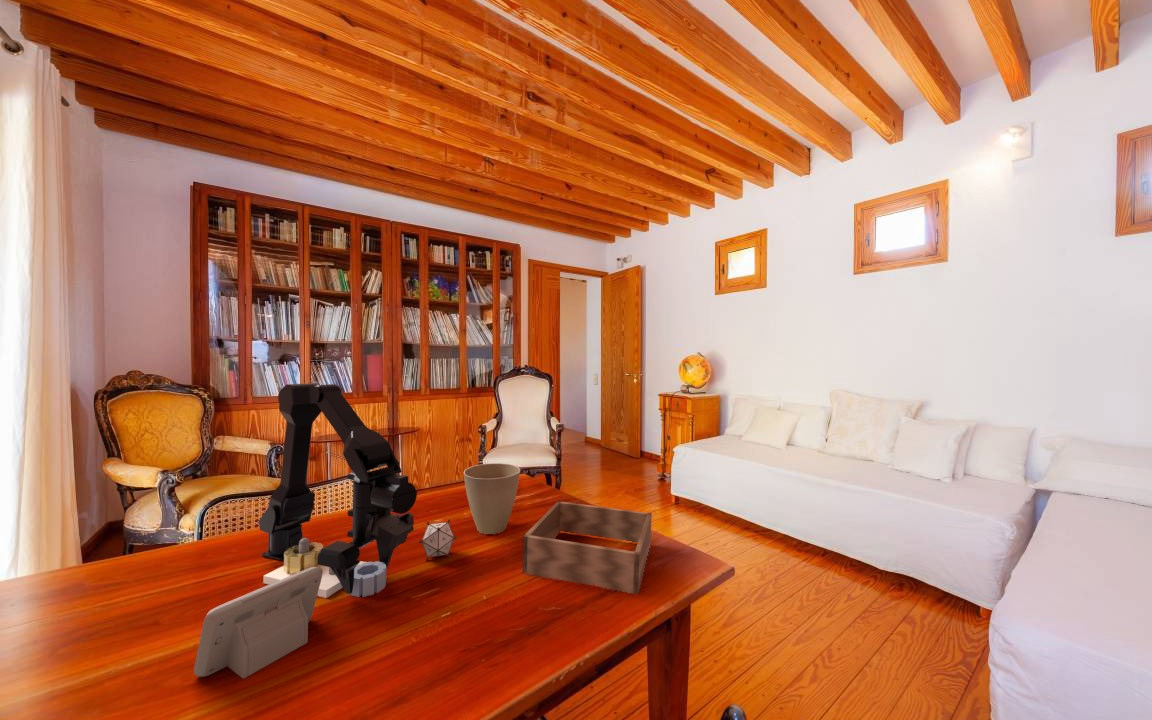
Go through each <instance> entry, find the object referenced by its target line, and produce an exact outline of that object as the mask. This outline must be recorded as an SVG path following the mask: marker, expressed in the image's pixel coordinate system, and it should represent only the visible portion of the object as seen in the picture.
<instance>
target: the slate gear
mask: <svg viewBox="0 0 1152 720" xmlns="http://www.w3.org/2000/svg"><path fill="white" fill-rule="evenodd" d="M366 562H367V561H366ZM386 586H387V570H386V564H384V563H382V562H380V561H377V560H376V561H374V562H373V561H368V562H367V563H362V565H357V566H356V567H355V569H354V584H353V591H352V593H351V594H349V595H350V596H352V597H355V598H361V596H362V598H364V597H365V598H366V597H368V596H373V595H375V593H376V594H378V593H380V592H381V591H382V590H383V589H385V588H386Z"/></svg>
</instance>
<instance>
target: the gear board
mask: <svg viewBox="0 0 1152 720" xmlns="http://www.w3.org/2000/svg"><path fill="white" fill-rule="evenodd" d="M309 542H310V540H309V538H307V537H303V539H301V540H300V542H299V554H303V553H306V552H309ZM359 561H360V563H359V564H358V565H362V563H367V561H362V560H359ZM319 567H321V569H322V572H323V573H322V579H321V583H320V587H319V591H318V594H317V597H320V598H324V599H327V598H329V597H331V596H332V595H333V594H335V593H336V592H338V591H339V590H341V589H344V588H343V587H342V585H341V583H340V581H339V580H338V578H337V576H336V575H335V573H334V572H333V571H332V569H331V568H330V567H326V566H322V565H320V566H319ZM291 575H294V574H290V573H286V572H285V571H284V565H282V566H279V567H278V568H276V569H275V570H272V571H270V572H269V573H266V574H263V582H262V583H263V584H266V585H270V584H272V583H274V582H277V581H279V580H282V579H284V578H286V577H289V576H291Z"/></svg>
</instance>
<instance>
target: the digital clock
mask: <svg viewBox="0 0 1152 720" xmlns="http://www.w3.org/2000/svg"><path fill="white" fill-rule="evenodd" d="M322 573H323V572H322V569H321V567H311V568H308V569H306V570H303V571H301V572H298V573H296V574H294V575H291V576H289V577H286V578H284V579H282V580H279V581H277V582H274V583H272V584H270V585H269V584H266V585H265V586H263V587H261V588H258V589H255V590H253V591H251V592H248V593H246V594H244V595H242V596H239V597H237V598H234V599H232V600H229V601H227V602H225V603H222V604H220V605H218V606H216V607H214V608H212V609H210V610H209V611H208V613H206V616H205V617H204V620H203V622H202V623H203V624H202V627H201V628H202V629H201V633H200V638H199V643H198V647H197V653H196V659H195V661H194V662H195V663H194V668H193V673H194V675H195V676H196V677H199V678H202V677H203V678H204V677H207V676H210V675H212V674H214V673H216V672H219V671H220V670H222V669H225V668H226V667H228V668H229V669H230V670H231V671H233V672H234V673H235V674H237V675H238V676H239V677H240V678H242V679H243V680H244V679H246V678H248V677H250V676H251V675H253V674H254V673H256V672H258V671H260V670H262V669H263V668H266V667H267V666H269V665H271V664H273V663H274V662H276V661H277V660H279V659H281V658H283V657H284V656H287V655H288V654H290V653H292V652H294V651H295V650H297V649H299V648H300V647H302V646H304V645H306V644H307V643H308V639H309V638H308V635H309V631H308V630H309V622H310V621H311V619H312V617H313V612H314V610H315V605H316V601H317V598H318V596H317V594H318V591H319V587H320V583H321V579H322Z"/></svg>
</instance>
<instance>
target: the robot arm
mask: <svg viewBox="0 0 1152 720" xmlns="http://www.w3.org/2000/svg"><path fill="white" fill-rule="evenodd" d="M277 399H278V405H279V407H278V408H279V409H278V410H279V413H280V414H281V415H282V417H283V419H284V420H285V423H286V426H285V435H284V436H285V437H284V446H283V456H282V465H281V475H280V483H279V485H278V486H277V487H276V489H275V490H274V491H273V492H272V494H271V495H270V498H269V502H268V507H267V509H266V510H265V511H264V513H263V514H262V515H261V517H260V518H259V520H258V526H259V530H260V531H261V532H264V533H266V534H268V546H267V547H268V549H267V551H263V552H262V553H261V557H265V558H269V559H275V560H278V561H284V553H285V551H286V550H288V549H289V548H290V547H293V546H295V545H298V544H299V542H300V540H301V539H303V538H304V537H303V525H302V524H305V523H309V522H310V521H311V517H312V514H313V511H314V509H315V497H316V494H315V492H314V491H312V490H311V488H309V485H308V484H307V481H308V480H307V478H308V477H307V476H308V469H309V461H310V460H309V459H310V451H311V443H312V442H311V440H312V432H313V431H312V430H313V423H315V420H316V419H317V418H318V417H319V416H320V414H321V413H322V414H323V415H324V416H325V418H326V420H327V421H328V422H329V423H330V424H329V425H331V426H332V428H333V429H334V431H335V432H336V434H337V436H338V437H339V438H340V439H341V442H342V443H343V450H342V455H343V457H344V459H345V461H346V464H347V466H348V467H349V469H350V470H351V472H350V473H348V475H346V479H348V480H351V481H352V482H353V484H352V508H351V509H349V510H347V516H348V517H352V529H350V530H348V531H347V532H346V534H347V538H352V541H350V542H347V541H346V542H345V541H341V540H336V541H334V542H332V543H330V544H328V545H326V546H323V548H322V549H321V550H320V551H319V552H318V563H317V565H322V566H326V567H330V568H331V569H332V571H333V572H334V573H335V575H336V576H337V578H338V580H339V581H340V583H341V585H342V587H343V588H342V589H343V590H344V592H345V593H346V594H347V595H350V594H351V593H352V591H353V584H354V569H355V567H356V566H357V565H358V564H359V563H360V561H361V560H358V559H359V557H360V554H361V553H360V549H362V548H364V547H366V546H368V545H370V544H371V543H373V542H374V541H376V547H377V554H378V562H382V563H384V564H386V571H387V570H388V567H389V564H390V561H391V558H392V557H393V554H394V550H395V549H396V548H397V547H399V546H400V545H402V544H404V543H406V542H407V539H408V535H409V534H410V533H411V532H414V530H415V529H414V524H415V520H414V514H412V513H410V512H409V511H410V510H412V508H413V507H414V505H415V504H416V501H417V497H418V491H417V490H416V486H415V485H414V484H413V483H411V482H410V481H409V476H408V475H405V474H403V475H402V474H401V473H402V469H401V466H400V462H399V460H398V458H396V455H395V453H394V451H393V449H392V446H391V444H390V442H388V440H387V439H386V438H385V437H383V435H382V434H380V432H377V431H375V430H373V429H371V428H368V427H367V426H366V425H365V423H364V422H363V421H362V420H361V419H362V418H360V417H359V415H358V414H357V413H356V411H355V410H354V408H353V407H352V406H351V404H350V403H349V402H348V401H347V398H346V397H344V395H343V394H342V389H341V387H340V386H339V385H337V384H334V383H333V384H331V383H330V384H328V383H327V384H319V383H317V382H310V383H306V382H305V383H292V384H290V383H289V384H285V385H284V386H283V388H281V389H280V390H279V392H278V395H277ZM385 466H386V467H385ZM374 469H375V470H374ZM400 474H401V475H400Z"/></svg>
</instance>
